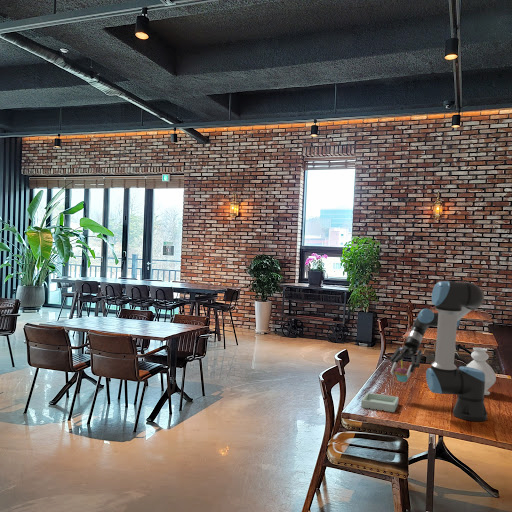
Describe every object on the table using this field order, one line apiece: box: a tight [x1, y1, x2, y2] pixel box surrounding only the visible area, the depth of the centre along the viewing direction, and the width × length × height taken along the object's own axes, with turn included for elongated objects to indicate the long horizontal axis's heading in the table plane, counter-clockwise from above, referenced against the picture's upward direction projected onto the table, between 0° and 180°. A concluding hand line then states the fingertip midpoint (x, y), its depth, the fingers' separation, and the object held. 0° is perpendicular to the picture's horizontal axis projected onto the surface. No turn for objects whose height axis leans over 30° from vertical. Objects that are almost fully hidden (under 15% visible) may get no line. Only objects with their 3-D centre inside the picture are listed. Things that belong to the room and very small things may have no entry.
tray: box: [360, 392, 399, 413], centre depth 258 cm, size 16×16×4 cm
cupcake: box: [394, 359, 409, 383], centre depth 272 cm, size 9×8×12 cm
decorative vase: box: [465, 347, 497, 396], centre depth 294 cm, size 18×18×25 cm
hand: (399, 374), depth 269 cm, fingers closed on cupcake, 8 cm apart
